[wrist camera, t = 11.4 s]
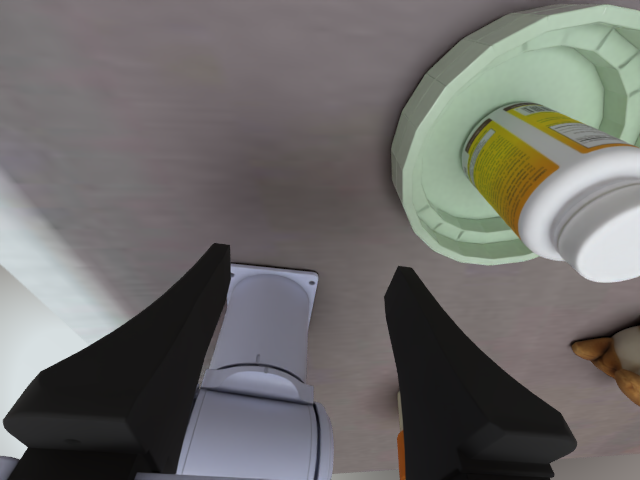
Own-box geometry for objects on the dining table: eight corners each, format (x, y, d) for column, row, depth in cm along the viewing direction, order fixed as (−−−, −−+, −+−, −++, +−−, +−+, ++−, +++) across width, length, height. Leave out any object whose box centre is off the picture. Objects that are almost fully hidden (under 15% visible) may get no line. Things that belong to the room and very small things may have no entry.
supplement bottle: (470, 198, 22) (560, 313, 14) (447, 131, 19) (544, 226, 11) (556, 159, 20) (718, 265, 12) (545, 78, 17) (750, 145, 9)
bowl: (536, 240, 25) (568, 274, 22) (367, 219, 24) (374, 253, 20) (690, 32, 16) (780, 39, 13) (436, -19, 15) (468, -25, 12)
